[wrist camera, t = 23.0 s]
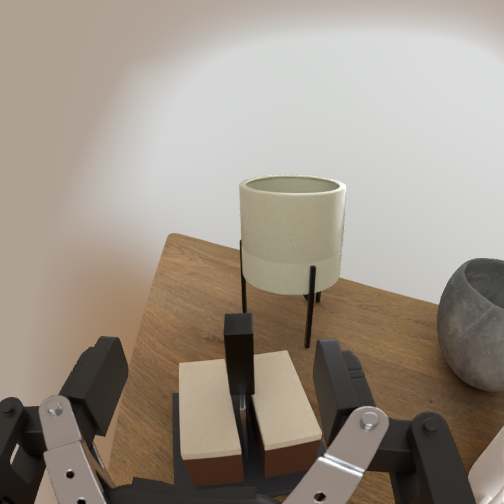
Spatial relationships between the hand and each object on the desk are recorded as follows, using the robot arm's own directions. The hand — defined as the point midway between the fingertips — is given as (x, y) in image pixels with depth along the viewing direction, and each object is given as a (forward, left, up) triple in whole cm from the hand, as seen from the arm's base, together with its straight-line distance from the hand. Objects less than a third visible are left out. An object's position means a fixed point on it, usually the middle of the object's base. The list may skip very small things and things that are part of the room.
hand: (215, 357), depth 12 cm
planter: (+13, +34, -23) cm, 43 cm away
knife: (+2, +11, -22) cm, 25 cm away
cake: (+2, +11, -23) cm, 26 cm away
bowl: (+38, +11, -23) cm, 46 cm away
